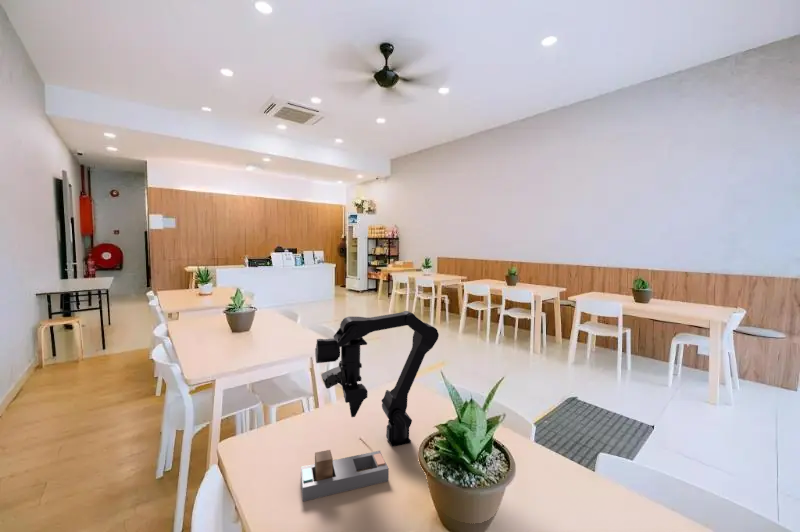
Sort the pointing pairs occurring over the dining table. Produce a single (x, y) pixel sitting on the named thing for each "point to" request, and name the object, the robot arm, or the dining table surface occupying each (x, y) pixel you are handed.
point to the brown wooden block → (323, 465)
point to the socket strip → (345, 475)
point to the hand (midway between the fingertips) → (350, 409)
